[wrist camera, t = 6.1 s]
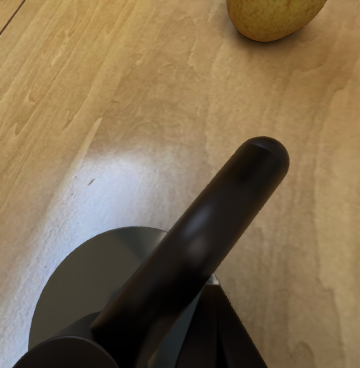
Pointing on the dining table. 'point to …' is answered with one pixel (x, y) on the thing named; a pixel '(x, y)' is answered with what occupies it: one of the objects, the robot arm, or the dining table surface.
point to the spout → (170, 269)
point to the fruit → (271, 17)
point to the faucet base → (103, 287)
